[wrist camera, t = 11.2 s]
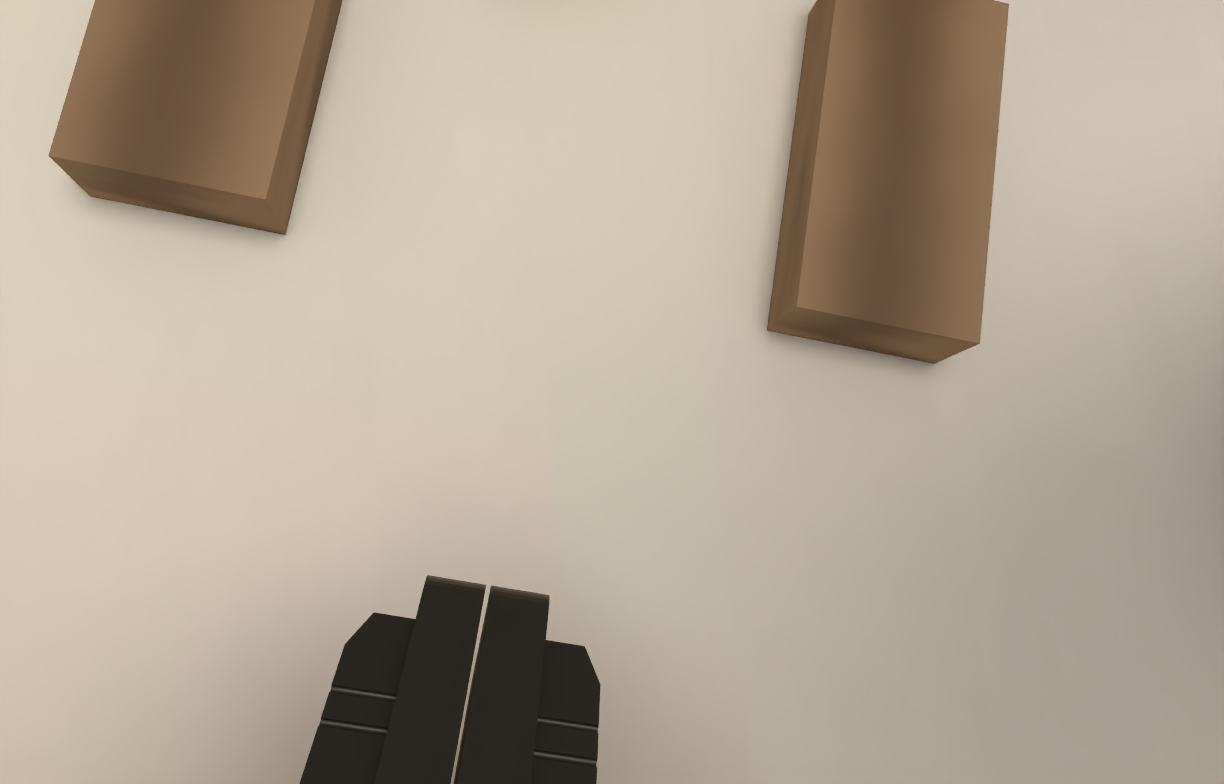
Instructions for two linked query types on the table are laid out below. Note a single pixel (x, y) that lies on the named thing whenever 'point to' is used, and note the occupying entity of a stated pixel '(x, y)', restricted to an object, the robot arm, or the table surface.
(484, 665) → the robot arm
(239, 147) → the pair of brown boards
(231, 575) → the table surface
